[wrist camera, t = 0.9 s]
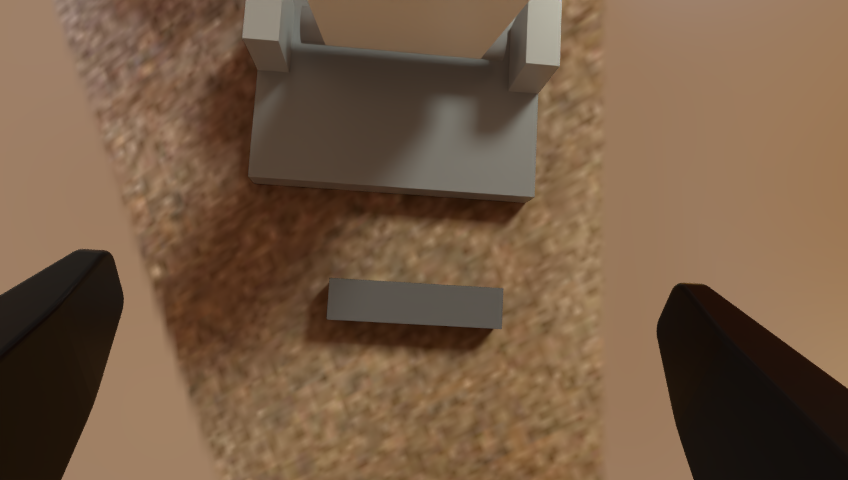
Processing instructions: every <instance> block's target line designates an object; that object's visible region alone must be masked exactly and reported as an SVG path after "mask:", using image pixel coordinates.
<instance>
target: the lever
mask: <svg viewBox="0 0 848 480" xmlns="http://www.w3.org/2000/svg"><path fill="white" fill-rule="evenodd" d="M307 1H308V3H309V6H304V5H303V6H302V8H301V14H300V39H301V43H303V44H314V45H326V46H337V47H348V48H360V49H371V50H382V51H393V52H405V53H416V54H427V55H438V56H450V57H461V58H472V59H484V60H495V61H502V60H503V58H504V55H505V50H506V44H507V27H508V25H509V24H510V23H511V22H512V21H513V19H514V18H515V17H516V16H517V15H518V14H519V12H520V11H521V10H522V9H523V8H524V6H525V5H526V4H527V3H528V2H529V0H307Z"/></svg>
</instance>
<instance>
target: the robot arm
mask: <svg viewBox="0 0 848 480" xmlns="http://www.w3.org/2000/svg"><path fill="white" fill-rule="evenodd" d="M123 300H124V297H123V291H122V287H121V284H120V280H119V277H118V272H117V269H116V265H115V261H114V258H113V256H112V255H111V253H109V252H108V251H105V250H89V249H80V250H76V251H74V252H72V253H71V254H69V255H67V256H66V257H64V258H63V259H61V260H59V261H57V262H56V263H54V264H52V265H50V266H49V267H47V268H45V269H44V270H42V271H40V272H39V273H37V274H35V275H34V276H32V277H30V278H29V279H27V280H25V281H23V282H22V283H20V284H18V285H17V286H15V287H13V288H12V289H10V290H9V291H7V292H5V293H4V294H2V295H0V480H61V479H62V477H63V474H64V472H65V470H66V467H67V465H68V463H69V461H70V458H71V456H72V454H73V452H74V449H75V447H76V445H77V442H78V440H79V438H80V435H81V433H82V431H83V429H84V426H85V424H86V422H87V420H88V417H89V414H90V412H91V409H92V407H93V405H94V401H95V398H96V396H97V393H98V390H99V387H100V383H101V380H102V377H103V373H104V370H105V367H106V363H107V360H108V357H109V353H110V350H111V346H112V343H113V340H114V336H115V333H116V330H117V326H118V323H119V320H120V316H121V313H122V309H123V303H124V301H123ZM657 339H658V344H659V348H660V353H661V358H662V363H663V367H664V372H665V377H666V381H667V387H668V391H669V396H670V401H671V406H672V410H673V415H674V419H675V422H676V427H677V430H678V433H679V436H680V440H681V443H682V446H683V449H684V452H685V455H686V458H687V461H688V464H689V467H690V470H691V473H692V476H693V479H694V480H848V388H846V387H845V386H843V385H842V384H841V383H839V382H838V381H837V380H835V379H834V378H832V377H831V376H830V375H828V374H827V373H826V372H824V371H823V370H822V369H820V368H819V367H818V366H816V365H815V364H813V363H812V362H811V361H809V360H808V359H807V358H805V357H804V356H803V355H801V354H800V353H798V352H797V351H796V350H794V349H793V348H792V347H790V346H789V345H787V344H786V343H785V342H783V341H782V340H781V339H779V338H778V337H777V336H775V335H774V334H773V333H771V332H770V331H768V330H767V329H766V328H764V327H763V326H762V325H760V324H759V323H757V322H756V321H755V320H753V319H752V318H751V317H749V316H748V315H746V314H745V313H744V312H742V311H741V310H740V309H738V308H737V307H736V306H734V305H733V304H732V303H730V302H729V301H727V300H726V299H725V298H723V297H722V296H721V295H719V294H718V293H717V292H715V291H714V290H712V289H711V288H710V287H708V286H707V285H704V284H696V283H679V284H677V285H676V286H674V288H673V289H672V291H671V293H670V295H669V298H668V300H667V302H666V304H665V307H664V309H663V311H662V313H661V316H660V318H659V321H658V324H657Z"/></svg>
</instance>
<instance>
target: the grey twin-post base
mask: <svg viewBox="0 0 848 480" xmlns="http://www.w3.org/2000/svg"><path fill="white" fill-rule="evenodd" d="M303 5H304V6H309V3H308V1H307V0H246V3H245V14H244V24H243V35H242V38H243V40H244V43H245V45H246V47H247V49H248V51H249V53H250V55H251V57H252V59H253V61H254V64H255V66H256V68H257V81H256V92H255V103H254V114H253V126H252V137H251V148H250V159H249V170H248V177H249V178H250V179H251V180H252V181H253V182H254V183H255V184H269V185H283V186H297V187H311V188H325V189H339V190H353V191H367V192H381V193H395V194H410V195H424V196H438V197H452V198H466V199H480V200H494V201H508V202H522V203H526V202H528V201H529V200H531V199H532V198H534V193H535V166H536V138H537V110H538V93H539V92H540V91H541V89H542V88H543V87H544V86H545V84H546V83H547V82H548V80H549V79H550V78H551V76H552V75H553V74H554V73H555V71H556V70H557V69H558V67H559V66H560V40H561V9H562V0H529V2H528V3H527V4H526V5H525V6H524V8H523V9H522V10H521V11H520V12H519V14H518V15H517V16H516V17H515V18H514V19H513V21H512V22H511V23H510V24H509V25H508V27H507V44H506V50H505V55H504V58H503V60H502V61H495V60H484V59H472V58H461V57H450V56H438V55H427V54H416V53H405V52H393V51H382V50H371V49H360V48H348V47H337V46H326V45H314V44H303V43H301V39H300V14H301V8H302V6H303Z"/></svg>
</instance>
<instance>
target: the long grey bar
mask: <svg viewBox="0 0 848 480" xmlns="http://www.w3.org/2000/svg"><path fill="white" fill-rule="evenodd" d="M502 308H503V288H488V287H472V286H455V285H438V284H422V283H405V282H388V281H372V280H355V279H338V278H330V279H329V293H328V306H327V319H329V320H347V321H365V322H383V323H401V324H420V325H438V326H456V327H474V328H492V329H502Z"/></svg>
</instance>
